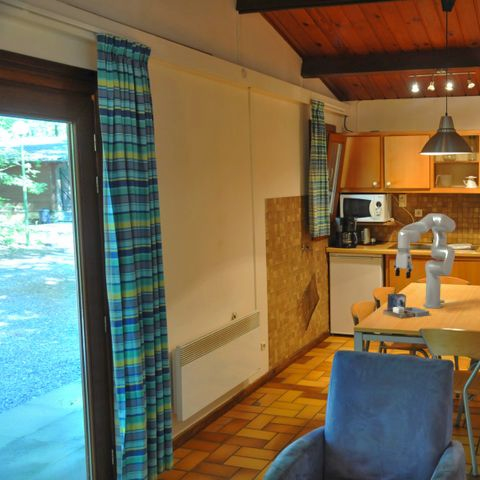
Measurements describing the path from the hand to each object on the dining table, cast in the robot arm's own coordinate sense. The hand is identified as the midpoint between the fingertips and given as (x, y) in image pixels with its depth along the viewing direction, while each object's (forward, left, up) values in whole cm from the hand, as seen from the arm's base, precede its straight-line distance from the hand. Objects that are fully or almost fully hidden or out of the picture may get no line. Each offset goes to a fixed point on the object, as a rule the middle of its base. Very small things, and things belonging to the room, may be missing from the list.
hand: (402, 277), depth 452 cm
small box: (-6, -11, -24) cm, 28 cm away
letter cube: (+6, +3, -24) cm, 25 cm away
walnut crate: (+6, +3, -24) cm, 25 cm away
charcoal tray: (-6, +5, -24) cm, 25 cm away
